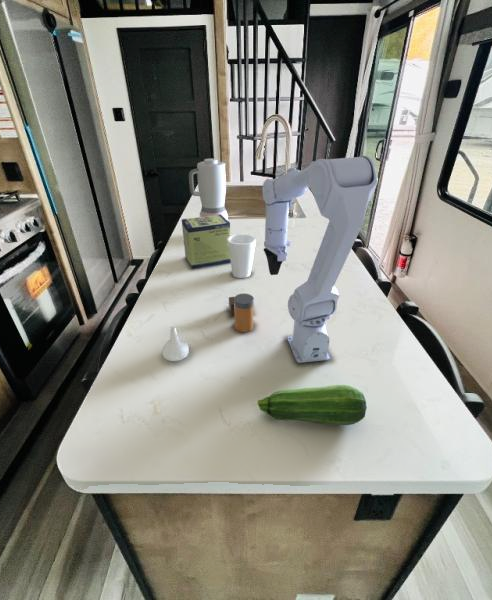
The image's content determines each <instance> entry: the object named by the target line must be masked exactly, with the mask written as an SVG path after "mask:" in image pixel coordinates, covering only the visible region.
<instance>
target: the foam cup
mask: <svg viewBox="0 0 492 600" xmlns="http://www.w3.org/2000/svg"><path fill="white" fill-rule="evenodd" d="M227 246H228V249H229V255H230V261H231V262H230V266H231V267H230V268H231V272H232V277H235V278H238V279H246V278H248V277H250V276H251V273H252V268H253V261H254V255H255V248H256V246H257V239H256V237H255V236H254V235H252V234H249V233H235V234H230V236H229V237H228V238H227Z"/></svg>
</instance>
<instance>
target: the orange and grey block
mask: <svg viewBox="0 0 492 600" xmlns="http://www.w3.org/2000/svg"><path fill="white" fill-rule="evenodd" d="M234 297H235V298H234V315H235V316H234V328H235V330H236V331H238V332H240V333H248V332H251V331H252V330H253V329H254V305H255V304H254V302H255V300H254V299H255V298H254V296H253V295H252V294H249V293H238V294H236V295H235V296H234Z"/></svg>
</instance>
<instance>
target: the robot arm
mask: <svg viewBox="0 0 492 600" xmlns="http://www.w3.org/2000/svg"><path fill="white" fill-rule="evenodd" d="M378 183H379V179H378V174H377V170H376V165H375V162H374V160H373V159H372V158H371V157H370V156H368V155H360V156H356V157H355V156H354V157H340V158H327V159H326V158H319V159H316V160H314V161H313V160H312V161H310V165H309V166H307V167H306V168H304V169H302V170H300V169H296V167H291V168H290V167H289V168H287V169H286V172H285V173H280V174H278V175H277V177H276V178H266V179H265V180H264V181H263V184H262V191H261V192H262V193H261V194H262V198H263V201H264V203H265V223H264V228H265V229H264V241H263V247H264V248H263V252H264V254H265V257H266V261H267V266H268V271H269V272H268V273H269V274H270V276H278V275H279V272H280V269H281V267H282V264H283V262H286V261H287V256H288V254H287V253H288V252H287V247H290V246H291V241H289V240H287V238H288V224H289V213H290V212H289V211H290V210H291V208H292V203H293V201H294V199H296V198H299V197H302V196H303V195H304V194H306V192H307V190H308V188H309V189H310V191H311V194H312V196H313V198H314V201H315V203H316V205H317V208H318V211H319V213H320V215H321V216H322V217H323V218H326V219H328V224H327V226H326V229H325V232H324V235H323V237H322V240H321V242H320V245H319V248H318V251H317V253H316V256H315V258H314V262H313V264H312V266H311V269H310V272H309V275H308V276H307V277H308V278H307V280H306V281H305V282H304V283H302V284H301V285H299V286H298V287H296V288H295V289H294V292H293V293H292V294H291V295H290V296H289V298H288V301H287V310H288V313H289V315H290V317H291V319H292V320H293V321H294V322H293V329H292V330H293V331H292V335H289V336H287V337H286V339H287V342H288V344H289V347H290V349H291V351H292V354H293V356H294V358H295V360H296V363H298V364H303V363H312V362H319V361H320V362H321V361H329V360H330V359H331V356H330V354H329V353H328V352H329V346H330V336H329V333H328V332H327V327H326V325H327V321H329V320H330V317H331V315H334V314H335V313H336V311H337V307H338V300H339V298H340V294H339V291H338V289H337V288H336V286H335V284H336V282H337V280H338V279H339V276H340V274H341V271H342V269H343V268H344V266H345V263H346V261H347V259H348V257H349V254H350V252H351V250H352V249H353V247H354V244H355V241H357V237H358V236H359V233H360V231H361V229H362V227H363V224H364V221H365V217H366V212H367V207H368V205H369V203H370V201H371V199H372V196H373V194H374V192H375V189H376V188H377V186H378Z"/></svg>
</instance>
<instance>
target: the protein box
mask: <svg viewBox="0 0 492 600" xmlns="http://www.w3.org/2000/svg"><path fill="white" fill-rule="evenodd" d="M181 228H182V237H183V247H184V257H185V260H186V261H187V263H188V265H189V267H190V268H191V270H193V269H201V268H206V267H212V266H217V265H224V264H231V261H230V255H229V249H228V246H227V238H228V237H229V236H231V222H230V221H229V220H228V221H227V220H226V219H225V218H224V217H223V216H222V215H221V214H219V215H212V216H204V217H200V216H197V217H187V218H182V219H181Z"/></svg>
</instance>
